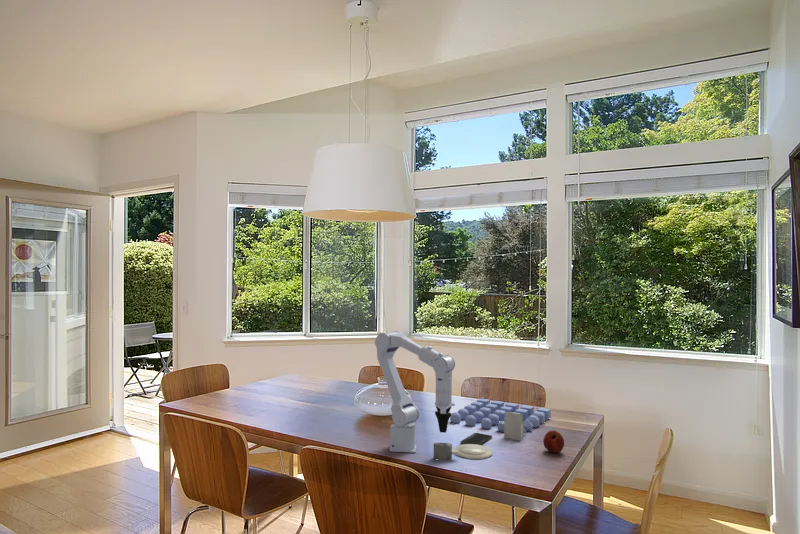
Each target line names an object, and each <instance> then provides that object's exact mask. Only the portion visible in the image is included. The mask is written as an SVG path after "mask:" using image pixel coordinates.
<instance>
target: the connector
mask: <svg viewBox="0 0 800 534" xmlns="http://www.w3.org/2000/svg"><path fill="white" fill-rule="evenodd" d="M432 453H433V455H432V456H433V458H434V459H433V458H432V459H433V460H435V459H438V460H437V461H445V460H449V461H452V460H451V459H453V455H456V456H458V455H457V450H454V449H453V444H452V443H449V442H434V443H433V452H432Z"/></svg>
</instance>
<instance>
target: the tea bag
mask: <svg viewBox="0 0 800 534" xmlns="http://www.w3.org/2000/svg"><path fill="white" fill-rule="evenodd" d="M523 422H524V421H523V415H522V414H518V413H511V412H506V414H505V422H504V432H503V433H504V434H503V439H504V438H505V439H508V438H510V440H514V439H515V441H520V440H521V441H522V440H523V439H524V434H523Z"/></svg>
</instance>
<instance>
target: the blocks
mask: <svg viewBox="0 0 800 534" xmlns="http://www.w3.org/2000/svg"><path fill="white" fill-rule="evenodd" d="M506 412H511V413H518V414H522V415H523V435H524V434H525V433H526V432H530V431H531V430H532V429H533V427H536V428H538V427H539V426H540V425H542V424H541V423H543V424H545V423H546V421H545V420H548V419H549V418H551V416H552V415H551V408H545V407H539V408H538V409H536V411H535V407H534V406H533V405H527V404H523V405H522V406H520V404H519V403H513V402H508V403H506V404H505V401H501V400H493V401H491V399H488V398H483V397H482V398H478V399H477V400H476V401H473V402H471V403H470V404H466V405H464V407H463V408H460V409H458V410H457V412H455V411H454V412H451V416H450V418H449V421H450V423H451V422H453V423H452V424H459V423H460V422H461V421H462V420H461V419H465V420H464V422H465V424H466V425H467V426H468V427H475V426H476V424H477V422H480V427H481V428H482V429H484V430H490V429H491V428H492V426H497V428H496V429H497V431H499V432H500V433H504V422H505V414H506ZM551 419H552V418H551ZM549 420H550V419H549ZM549 420H548V421H549ZM499 421H500V422H499ZM544 422H545V423H544ZM497 424H498V425H497Z"/></svg>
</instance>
